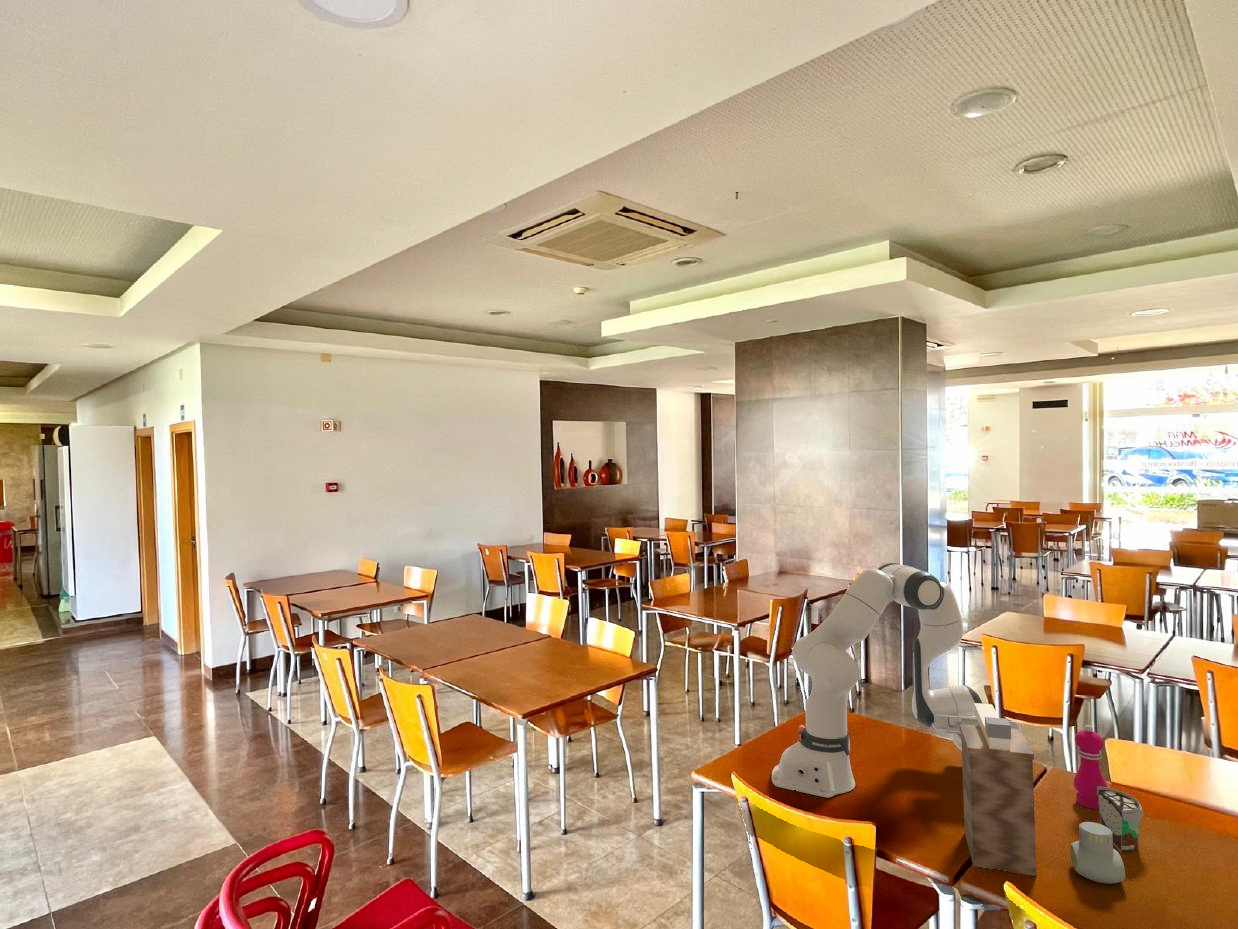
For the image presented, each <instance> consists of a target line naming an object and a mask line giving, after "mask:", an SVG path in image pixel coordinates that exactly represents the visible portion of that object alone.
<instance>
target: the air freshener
mask: <svg viewBox="0 0 1238 929" xmlns="http://www.w3.org/2000/svg"><path fill="white" fill-rule="evenodd" d="M1069 853H1070V854H1069V855H1070V861H1071V863H1072V866H1073V869H1074V871H1075V872H1076V873H1077V874H1079V875H1081V876H1082V877H1084V879H1085V878H1086V879H1088V880H1089V881H1092V882H1095V883H1098V884H1099V883H1101V884H1104V885H1105V884H1107V885H1108V884H1111V885H1112V884H1117V883H1120V882H1122V881H1125V879H1126V870H1125V865H1124V862H1123V859H1122V856H1121V855H1120V853H1119V852H1118V851H1117V850H1116V849H1115V848H1114V844H1113V835H1112V832H1111V830H1110V829H1109V828H1107V827H1106V826H1104V825H1101V824H1100V823H1097V822H1093V821H1083V822H1081V823H1079V825H1078V840H1075V841H1073V842H1071V843H1070V845H1069Z"/></svg>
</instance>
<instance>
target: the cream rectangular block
mask: <svg viewBox="0 0 1238 929" xmlns="http://www.w3.org/2000/svg"><path fill="white" fill-rule="evenodd" d="M974 713H975V716H976V718H977V720H978V723H979V725H980V727H981V730H982V732H983V734H984V737H985V739H986V742H987V744H988V746H989V749H995V750H1006V751H1011V749H1010V739H1011V725H1010V723H1009V721H1010V720H1008V718H1002V717H1001V718H1000V717H999V715H998V712H997V711H996V709H995V708H994V706H993V704H991V703H982V704H981V703H974Z"/></svg>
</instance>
